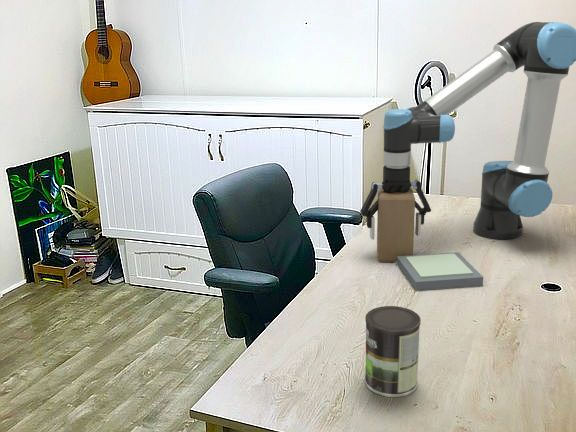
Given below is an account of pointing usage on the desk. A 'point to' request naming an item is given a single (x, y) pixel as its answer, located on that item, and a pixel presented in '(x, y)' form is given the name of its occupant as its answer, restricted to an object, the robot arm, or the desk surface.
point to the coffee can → (392, 350)
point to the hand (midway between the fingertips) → (395, 236)
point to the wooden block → (395, 225)
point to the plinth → (439, 271)
